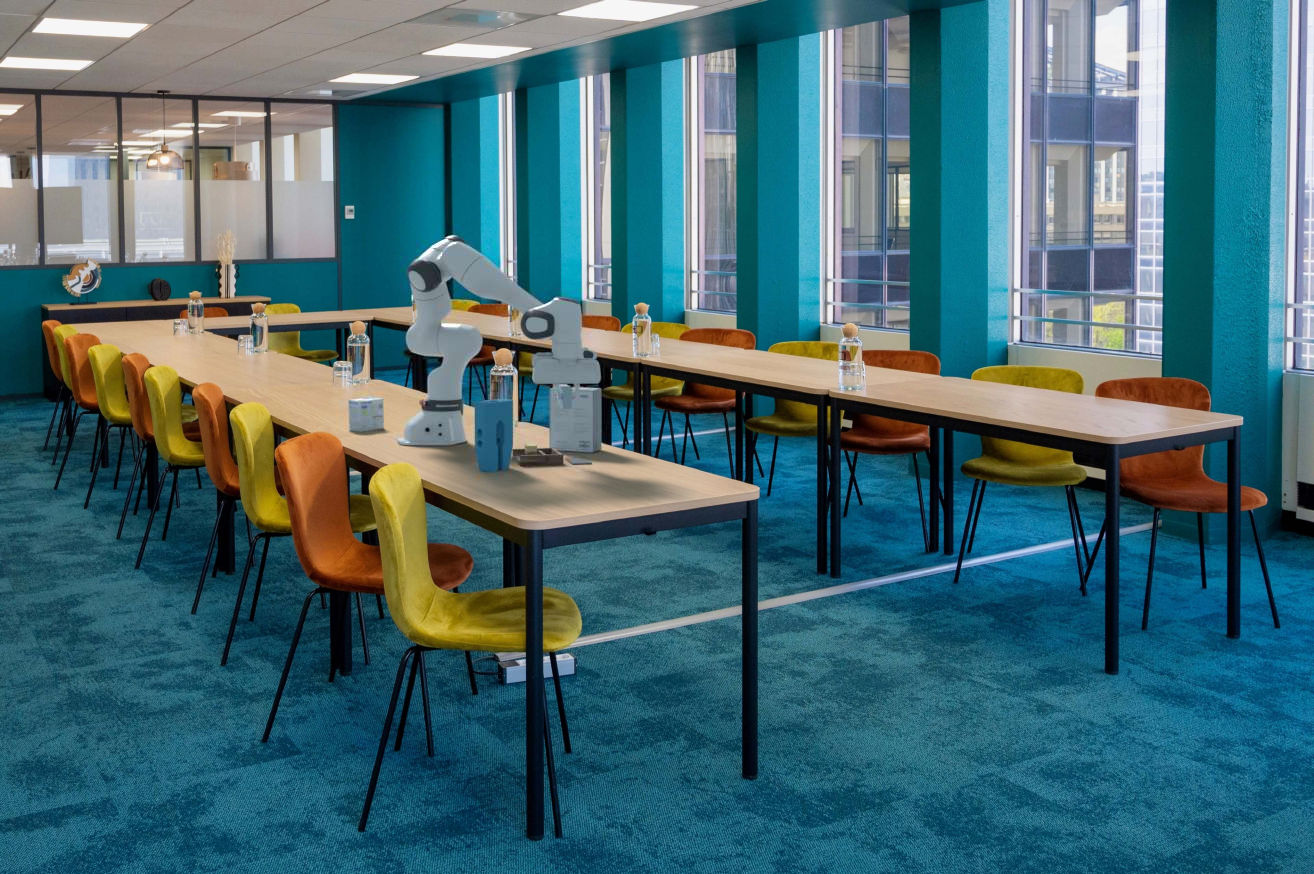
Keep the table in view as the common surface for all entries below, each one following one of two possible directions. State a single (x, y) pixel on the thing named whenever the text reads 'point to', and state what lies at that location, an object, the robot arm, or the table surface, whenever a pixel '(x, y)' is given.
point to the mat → (578, 461)
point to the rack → (538, 457)
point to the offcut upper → (531, 447)
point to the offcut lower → (530, 453)
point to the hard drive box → (576, 422)
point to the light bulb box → (366, 414)
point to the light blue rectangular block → (565, 396)
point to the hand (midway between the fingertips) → (566, 398)
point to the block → (493, 434)
